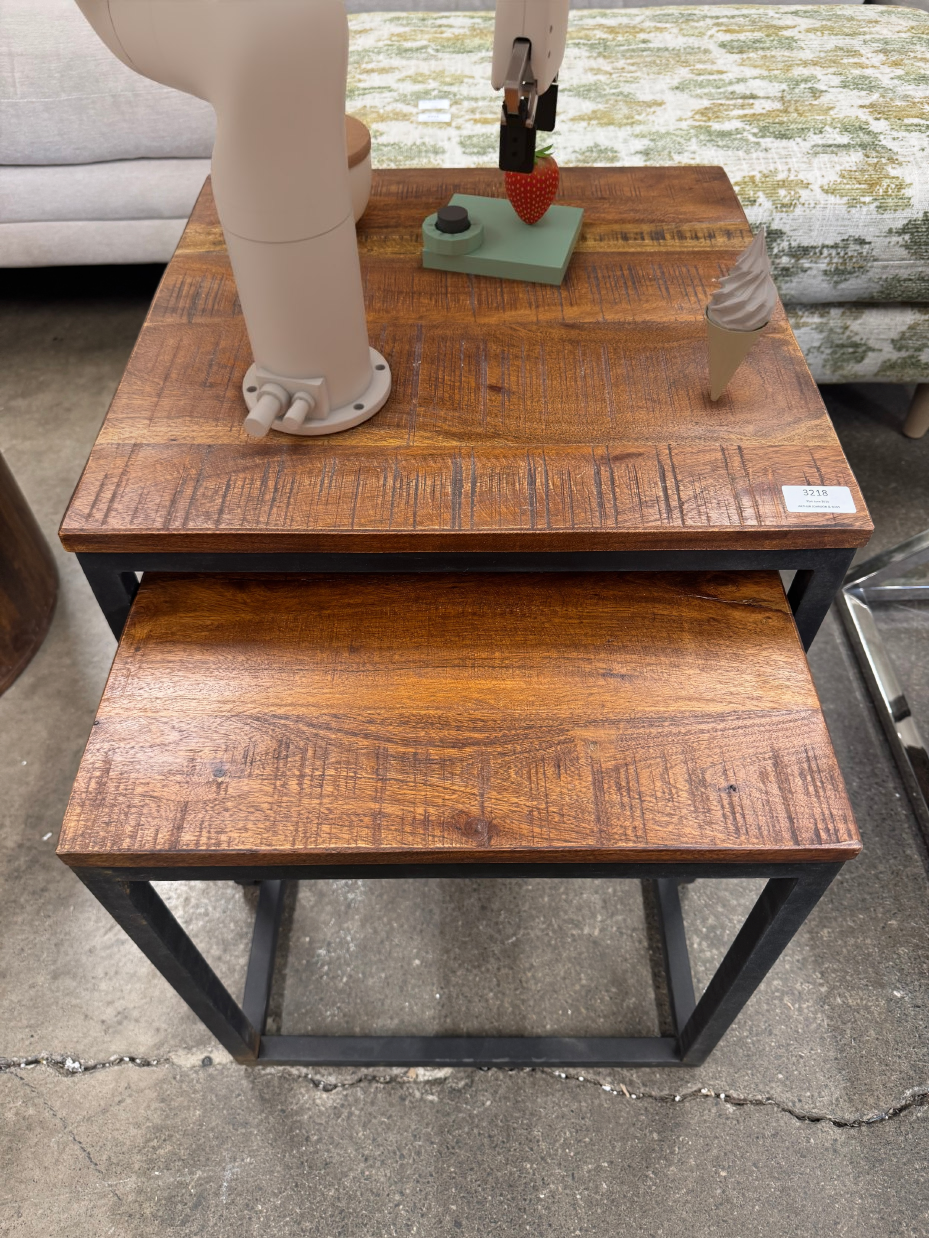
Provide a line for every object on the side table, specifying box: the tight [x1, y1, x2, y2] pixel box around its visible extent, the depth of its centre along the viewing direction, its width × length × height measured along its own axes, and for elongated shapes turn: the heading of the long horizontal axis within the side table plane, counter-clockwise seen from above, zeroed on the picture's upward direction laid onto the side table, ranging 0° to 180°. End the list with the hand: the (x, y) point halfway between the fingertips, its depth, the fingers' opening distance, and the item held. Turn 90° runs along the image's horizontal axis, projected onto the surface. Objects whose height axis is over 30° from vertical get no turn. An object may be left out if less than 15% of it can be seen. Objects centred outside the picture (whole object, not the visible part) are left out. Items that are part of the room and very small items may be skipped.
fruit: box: [504, 143, 560, 224], centre depth 83 cm, size 5×5×8 cm
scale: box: [421, 193, 585, 286], centre depth 86 cm, size 12×14×4 cm
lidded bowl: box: [345, 114, 373, 225], centre depth 85 cm, size 13×13×11 cm
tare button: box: [436, 205, 468, 234], centre depth 83 cm, size 3×3×2 cm
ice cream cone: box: [703, 225, 779, 402], centre depth 65 cm, size 5×5×15 cm
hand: (527, 149), depth 80 cm, fingers open, 9 cm apart
